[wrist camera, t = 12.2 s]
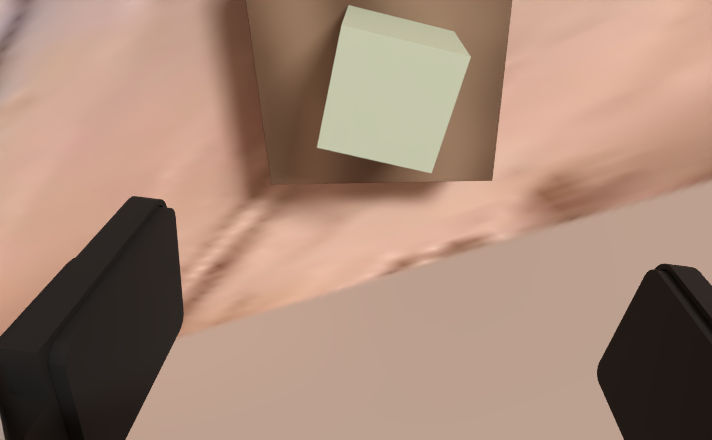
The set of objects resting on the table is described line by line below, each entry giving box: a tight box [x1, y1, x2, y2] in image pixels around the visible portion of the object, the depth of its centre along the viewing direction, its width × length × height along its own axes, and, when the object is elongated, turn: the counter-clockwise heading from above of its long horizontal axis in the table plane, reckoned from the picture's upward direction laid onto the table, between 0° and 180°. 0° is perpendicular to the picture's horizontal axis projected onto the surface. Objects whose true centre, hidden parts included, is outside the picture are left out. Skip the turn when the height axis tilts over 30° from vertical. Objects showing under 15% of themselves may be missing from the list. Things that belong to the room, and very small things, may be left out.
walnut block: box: [246, 0, 512, 185], centre depth 27 cm, size 12×12×5 cm
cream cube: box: [317, 5, 471, 173], centre depth 22 cm, size 5×5×5 cm
